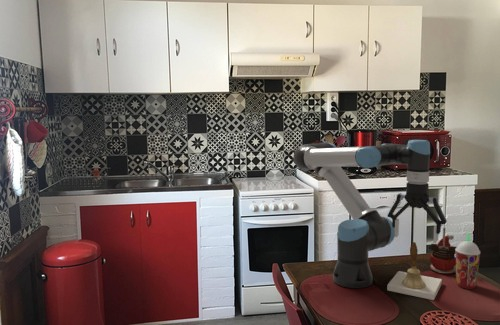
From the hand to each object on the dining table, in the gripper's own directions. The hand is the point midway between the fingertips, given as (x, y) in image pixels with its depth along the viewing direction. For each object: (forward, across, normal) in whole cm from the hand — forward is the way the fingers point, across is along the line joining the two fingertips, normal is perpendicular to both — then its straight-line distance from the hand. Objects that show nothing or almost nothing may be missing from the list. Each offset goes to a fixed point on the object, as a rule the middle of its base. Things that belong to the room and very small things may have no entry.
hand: (415, 239), depth 156 cm
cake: (+19, +6, +23) cm, 30 cm away
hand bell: (+17, +1, -3) cm, 17 cm away
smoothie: (+19, +16, +11) cm, 27 cm away
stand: (+18, 0, 0) cm, 19 cm away
